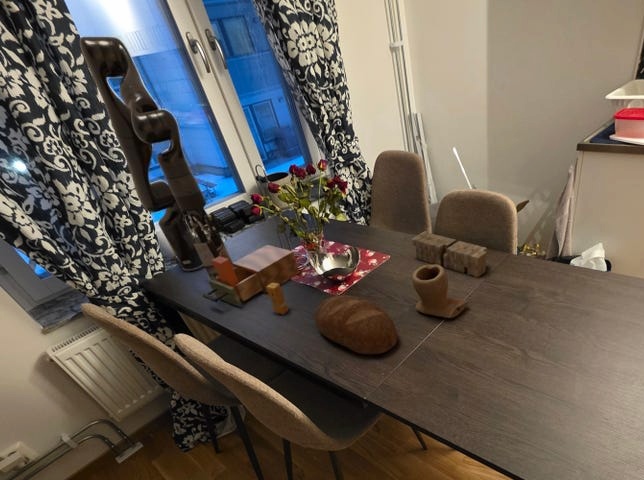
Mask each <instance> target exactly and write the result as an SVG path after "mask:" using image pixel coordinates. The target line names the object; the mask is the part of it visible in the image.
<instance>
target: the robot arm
mask: <svg viewBox="0 0 644 480" xmlns="http://www.w3.org/2000/svg"><path fill="white" fill-rule="evenodd" d="M79 46H80V50H81V53H82V56H83V58H84V60H85V62H86V65H87V68H88V69H89V72H90V74H91V76H92V79H93V81H94V83H95V85H96V87H97V90H98V92H99V94H100V96H101V99H102V101H103V103H104V105H105V109H106V110H107V114H108V117H109V120H110V123H111V125H112V129H113V131H114V134H115V137H116V139H117V141H118V144H119V146H120V149H121V150H122V153H123V155H124V158H125V160H126V163H127V166H128V169H129V172H130V175H131V178H132V181H133V185H134V190H135V192H136V195H137V198H138V199H139V201H140V203H141V205H142V207H143V208H144V209H145V210H146V211H147V212H148V213H151V214H155V213H159V212H161V211H164V210H165V212H164V214H163V215H162V217H161V218H160V219H158V226H159V228H160V230H161V232H162V234H163V235H164V237H165V239H166V241H167V243H168V244H169V246H170V248H171V250H172V252H173V254H174V255H173V256H172V258H173V260H174V262H175V264H176V265H180V267H181V269H182V270H183V271H184V272H195V271H198V270H200V269H203V268H205V267H204V265H203V263H202V261H201V259H200V256H199V254H198V252H197V250H196V248H195V246H194V243H195V242H196V241H197V240H196V239H195V237H194V235H193V233H192V230H193V232H194V233H195V234H196V237H197V238H198V239H199V240H200V242H201V243H205V242H207V241H208V239H207V237H206V235H205V234H208V235H209V237H210V239H211V241H212V243H213V245H214V247H219V246H221V242H220V240H219V238H218V235H217V233H219V234H220V233H221V230H220V228H219V224H218V222H217V221H216V218H215V216H214V214H213V213H212V212H211V213H207V211H206V210H205V206H206V205H207V201H206V199H205V197H204V194H203V191H202V190H201V188H200V185H199V183H198V181H197V179H196V177H195V175H194V174H193V172H192V170H191V168H190V165H189V162H188V161H187V159H186V155H185V152H184V148H183V145H182V140H181V132H180V128H179V124H178V123H179V122H178V120H177V119H176V117H175V115H173V113H172V112H170V111H169V110H167V109H164V108H160V107H159V105H158V104H157V102H156V101H155V99H154V98H153V96H152V94H151V93H150V92H149V90H148V89H147V87H146V84H145V83H144V81H143V79H142V76H141V74H140V71H139V69H138V67H137V65H136V63H135V61H134V58H133V57H132V55H131V53H130V51H129V49H128V47H127V46H126V44H125V43H124V42H123V41H122V40H121V39H120V38H118V37H113V36H81V37H80V38H79ZM120 78H121V80H120V83H119V90H118V91H119V95H120V96H119V95H118V94H117V93H116V91H115V90H114V89H113V88H112V86H111V85H110V83H109V81H108V79H120ZM164 142H169V147H168V148H167V149H166V150H164V151H162V152H160V153H158V154H157V156H156V161H157V163H158V165H159V167H160V170H161V171H162V173H163V175H164V177H165V179H166V181H165V180H162V179H159V180H155V181H152V182H150V175H149V173H150V167H151V163H152V159H153V155H154V145H155V144H158V143H160V144H161V143H164ZM205 232H206V233H205Z"/></svg>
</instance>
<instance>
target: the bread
mask: <svg viewBox="0 0 644 480" xmlns="http://www.w3.org/2000/svg"><path fill="white" fill-rule="evenodd" d="M314 321H315V326H316V327H317V329H318V331H319V332H320V333H321V334H322V335H323V336H324V337H325V338H327V339H328V340H330V341H332V342H334V343H336V344H338V345H340V346H343V347H345V348H347V349H348V350H351V351H353V352H354V353H357V354H362V355H380V354H384V353H387V352H388V351H389V350H391V349H392V348H393V347H395V345H396V344H397V341H398V332H397V327H396V326H395V323H394V322H393V319H391V317H390V315H389V314H388V313H387V312H386V311H385V310H383V309H382V308H381V307H380V306H379V305H377V304H376V303H374V302H372V301H370V300H367V299H365V298H363V297H360V296H356V295H347V294H341V295H334V296H331V297H329V298H327V299H324V300H323V301H322V302H321V303H320V304H319V306H318V307H317V308H316V311H315V312H314Z"/></svg>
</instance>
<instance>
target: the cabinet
mask: <svg viewBox="0 0 644 480" xmlns="http://www.w3.org/2000/svg"><path fill="white" fill-rule="evenodd" d="M232 264H233V266H234V268H235V267H240V268H243V269H246V270H249V271H252V272H255V273H258V276H259V278H260V281H261V283H262V286H263V288H264V289H263V290H261V291H260V292H262V293H264V294H269V293H268V290H267V288H266V287H267V286H268V285H269V284H271V283H277V284H280V286H281V285H283V284H284V283H287V281H290V280H291V279H293V278H294V277H296V276H297V275H299V274H300V273H301V272H300V269H299V265H298V262H297V259H296V256H295V252H294V251H293V250H289V249H285V248H282V247H278V246H275V245H270V244H265V245H264V246H262V247H259V248H258V249H255V250H254V251H252V252H250V253H248V254H246V255H245V256H243V257H241V258H239V259H238V260H236V261H233V262H232Z"/></svg>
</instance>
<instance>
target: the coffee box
mask: <svg viewBox="0 0 644 480" xmlns="http://www.w3.org/2000/svg"><path fill="white" fill-rule="evenodd" d="M205 235H206V237H207V239H208V241H207V242H205V243H201V242H200V240H199V238H198V239H197V240H195V241H196V242H195V243H194V246H195V248H196V250H197V252H198V254H199V256H200V259H201V261H202V263H203V265H204V267H203V268H204V269H205V271H206V273H207V275H208V276H209V279H212V280H215V281H217V280H216V277H218V276H219V275H218V273H217V271H216V269H215V267H214V265H213V263H212V261H211V260H213V259H215V258H217V257H219V256H220V257H223V258H226V259H229V261H230V263H231V265H232V267H233V268H234V266H233V264H232V263H233V261H232V258H231V256H230V254H229V251H228V250H227V247H226V245H225V243H224V240H223V238H222V236H221V233H220V232H219V233H217V235H218V238H219V240H220V242H221V246H219V247H214V245H213V243H212V241H211V239H210V237H209V235H208V233H205Z"/></svg>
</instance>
